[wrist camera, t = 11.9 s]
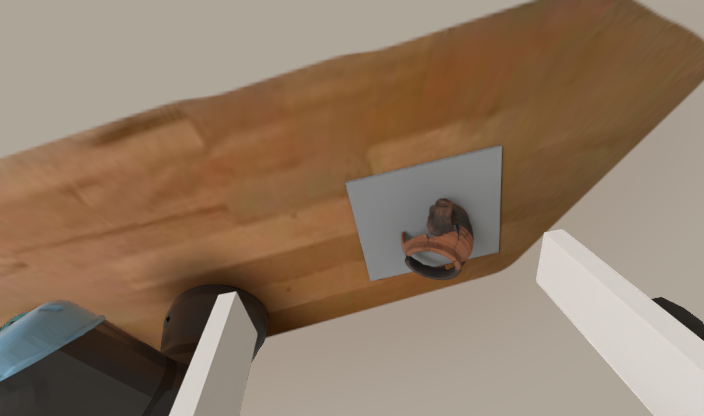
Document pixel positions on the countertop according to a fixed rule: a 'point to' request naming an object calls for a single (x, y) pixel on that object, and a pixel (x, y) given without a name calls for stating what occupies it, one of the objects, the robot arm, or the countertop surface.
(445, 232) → the broken terracotta jug
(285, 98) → the countertop surface
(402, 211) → the gray mat
